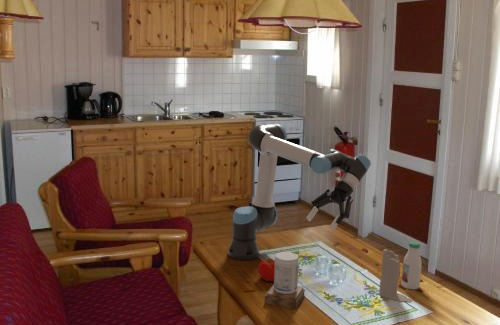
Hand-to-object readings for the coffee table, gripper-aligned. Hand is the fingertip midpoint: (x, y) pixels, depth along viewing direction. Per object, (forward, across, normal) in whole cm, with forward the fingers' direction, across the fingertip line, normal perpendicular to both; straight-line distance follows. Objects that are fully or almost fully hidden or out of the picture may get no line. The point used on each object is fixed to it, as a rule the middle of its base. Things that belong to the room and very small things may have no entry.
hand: (319, 224), depth 227 cm
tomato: (+28, +17, -12) cm, 35 cm away
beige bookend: (+5, -27, -34) cm, 44 cm away
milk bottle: (-5, -24, -45) cm, 51 cm away
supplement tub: (+31, -2, -3) cm, 31 cm away
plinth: (+34, -2, -6) cm, 34 cm away
